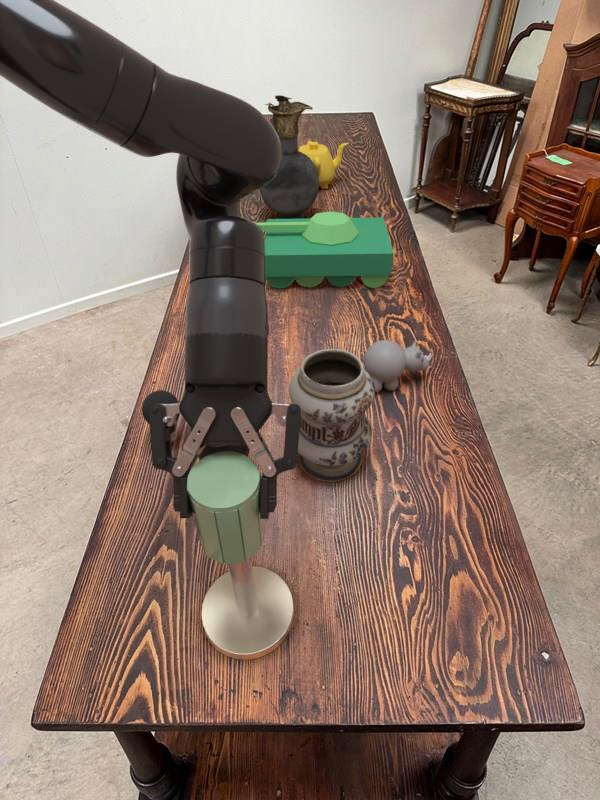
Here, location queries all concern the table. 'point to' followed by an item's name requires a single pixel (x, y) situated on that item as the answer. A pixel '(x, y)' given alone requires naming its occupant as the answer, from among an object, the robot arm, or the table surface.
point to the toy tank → (327, 250)
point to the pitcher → (290, 166)
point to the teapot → (323, 161)
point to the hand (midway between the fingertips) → (225, 516)
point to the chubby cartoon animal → (392, 362)
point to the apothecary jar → (332, 413)
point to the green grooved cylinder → (227, 506)
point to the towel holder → (247, 611)
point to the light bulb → (159, 397)
